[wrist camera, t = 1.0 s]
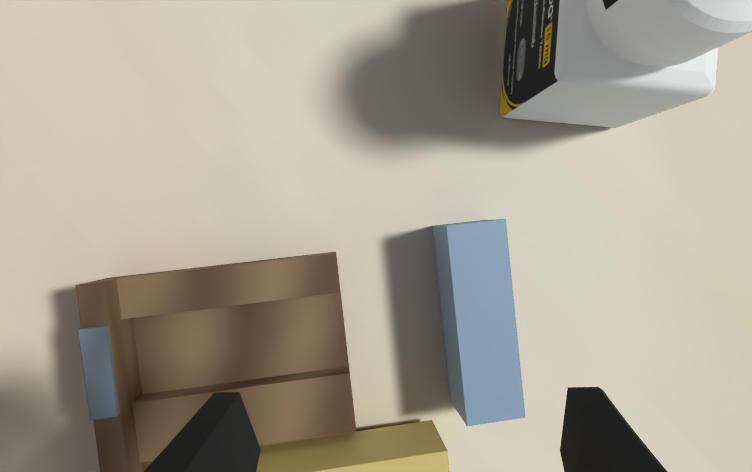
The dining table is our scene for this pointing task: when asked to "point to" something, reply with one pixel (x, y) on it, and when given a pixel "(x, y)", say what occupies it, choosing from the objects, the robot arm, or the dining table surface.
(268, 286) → the comb board
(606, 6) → the medicine bottle
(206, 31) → the dining table surface
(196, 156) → the dining table surface
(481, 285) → the stick blue
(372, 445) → the stick ochre
